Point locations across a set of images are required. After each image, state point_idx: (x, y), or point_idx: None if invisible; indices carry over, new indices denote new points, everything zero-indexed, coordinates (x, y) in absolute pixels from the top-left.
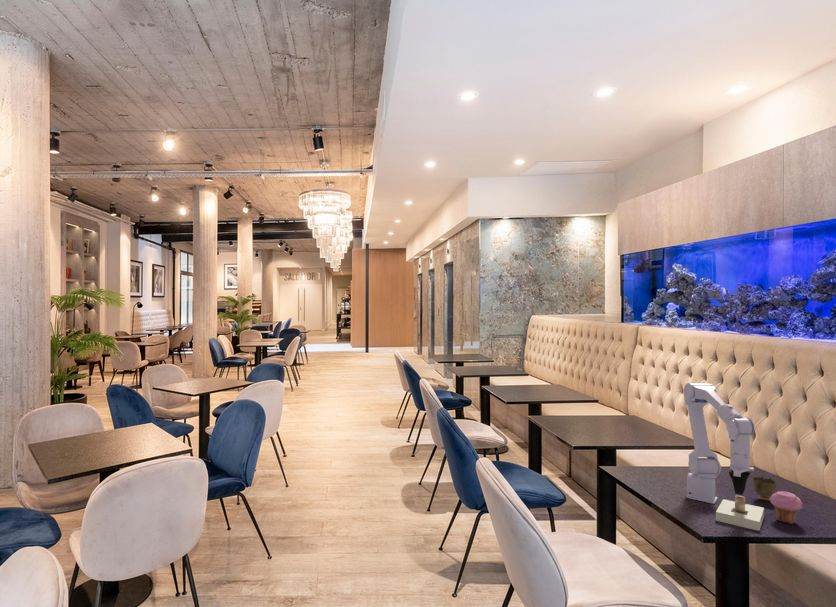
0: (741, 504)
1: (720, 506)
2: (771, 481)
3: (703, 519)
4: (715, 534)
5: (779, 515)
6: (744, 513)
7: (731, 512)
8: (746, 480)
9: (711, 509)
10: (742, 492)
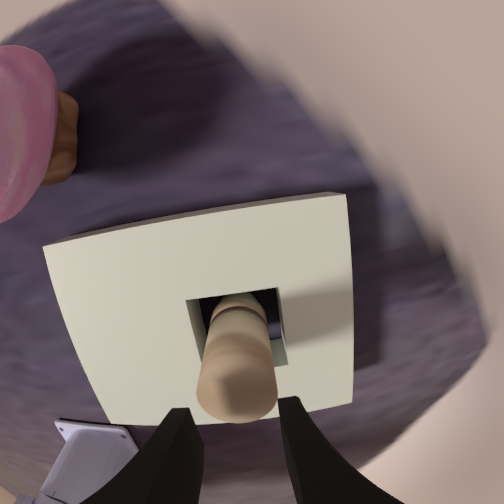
0: (269, 350)
1: None
2: None
3: (360, 403)
4: (481, 312)
5: (67, 154)
6: (247, 306)
7: (300, 358)
8: (147, 500)
9: None
10: (304, 411)
